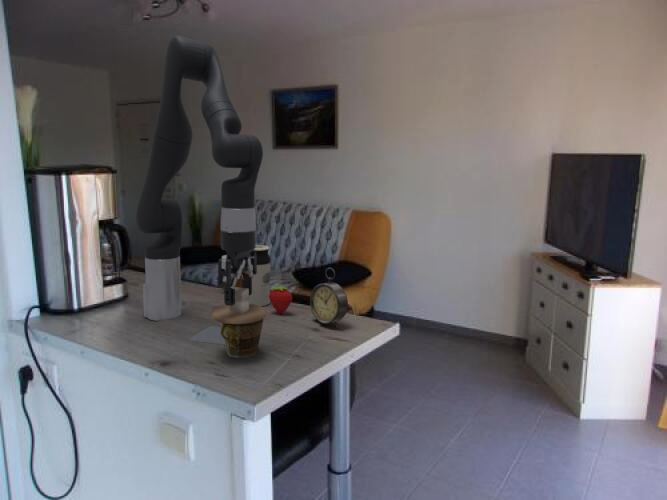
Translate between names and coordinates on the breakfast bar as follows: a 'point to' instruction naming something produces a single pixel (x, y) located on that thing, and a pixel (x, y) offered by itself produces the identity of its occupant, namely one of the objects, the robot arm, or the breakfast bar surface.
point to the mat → (209, 336)
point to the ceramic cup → (241, 338)
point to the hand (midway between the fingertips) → (238, 299)
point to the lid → (239, 310)
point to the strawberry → (280, 299)
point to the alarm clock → (328, 302)
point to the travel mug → (261, 278)
